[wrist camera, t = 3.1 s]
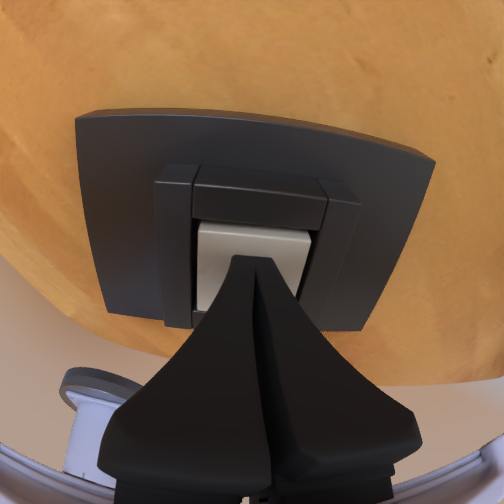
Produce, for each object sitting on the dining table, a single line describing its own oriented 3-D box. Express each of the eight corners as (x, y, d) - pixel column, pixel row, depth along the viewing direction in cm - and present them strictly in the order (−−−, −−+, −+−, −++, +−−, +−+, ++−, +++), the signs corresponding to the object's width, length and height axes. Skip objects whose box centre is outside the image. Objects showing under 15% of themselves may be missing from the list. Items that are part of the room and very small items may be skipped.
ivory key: (284, 288, 13) (289, 317, 11) (201, 281, 12) (196, 311, 11) (303, 215, 11) (312, 241, 9) (204, 205, 10) (197, 230, 9)
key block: (353, 310, 16) (369, 356, 14) (116, 291, 15) (97, 338, 12) (416, 149, 11) (462, 179, 8) (94, 110, 9) (46, 129, 7)
